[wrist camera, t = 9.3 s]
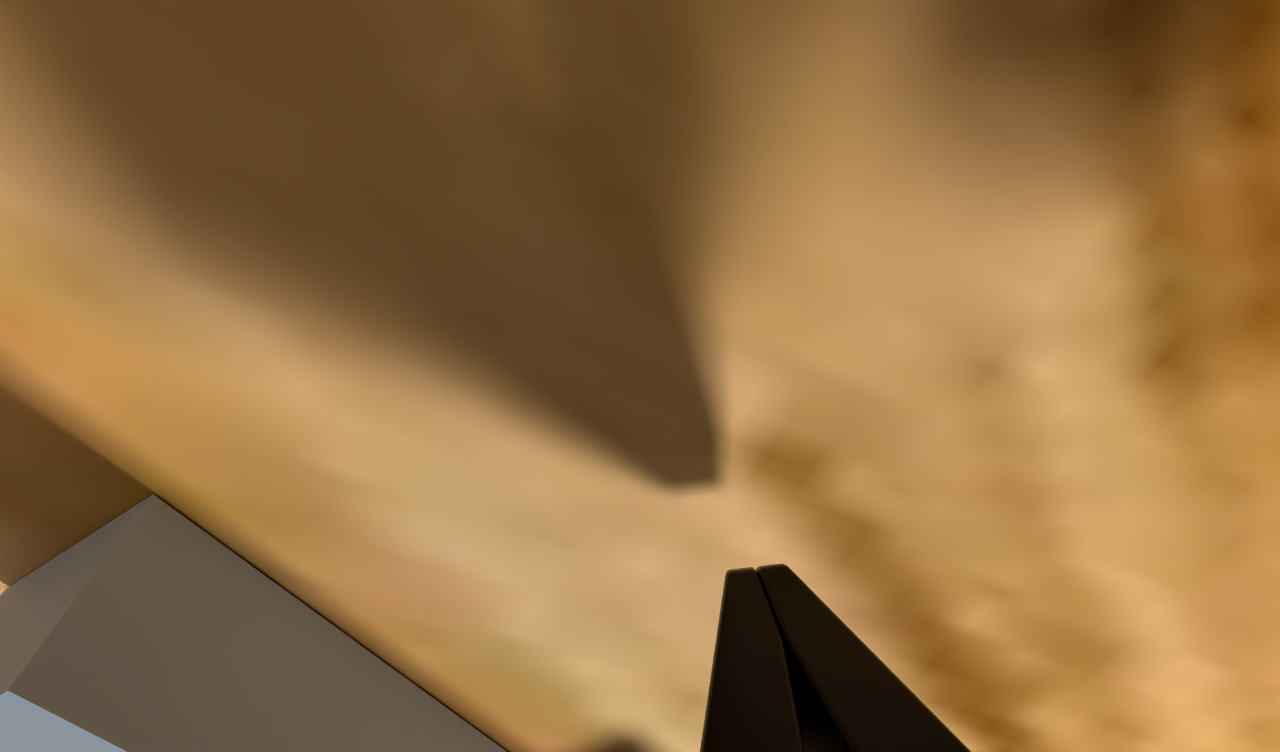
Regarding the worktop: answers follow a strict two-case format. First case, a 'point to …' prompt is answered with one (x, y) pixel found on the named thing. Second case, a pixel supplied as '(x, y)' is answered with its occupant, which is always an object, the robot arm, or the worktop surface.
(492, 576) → the worktop surface
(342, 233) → the worktop surface
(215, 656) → the link
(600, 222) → the worktop surface
